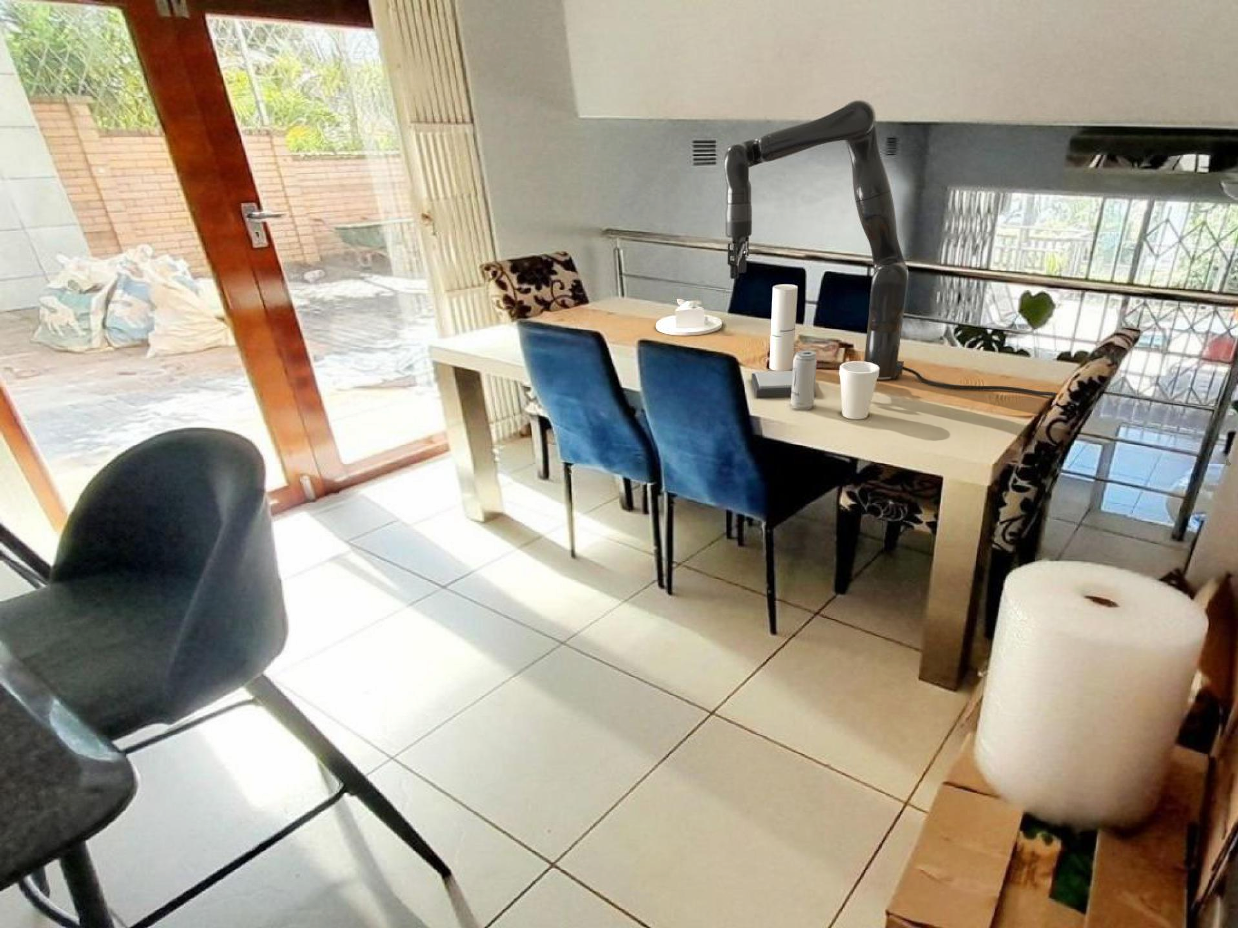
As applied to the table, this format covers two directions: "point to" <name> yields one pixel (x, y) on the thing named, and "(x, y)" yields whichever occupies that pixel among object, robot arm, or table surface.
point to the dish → (689, 320)
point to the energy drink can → (803, 379)
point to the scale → (772, 384)
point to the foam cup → (857, 388)
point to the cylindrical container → (783, 327)
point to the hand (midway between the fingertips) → (738, 275)
